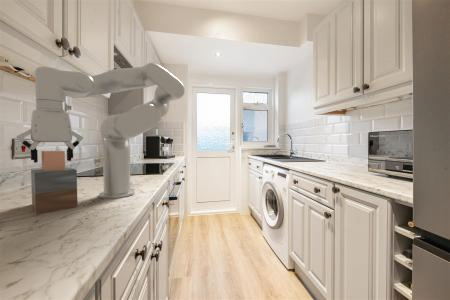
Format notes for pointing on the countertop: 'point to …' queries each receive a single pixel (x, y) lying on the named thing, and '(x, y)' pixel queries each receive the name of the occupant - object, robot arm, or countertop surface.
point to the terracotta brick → (53, 160)
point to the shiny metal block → (53, 189)
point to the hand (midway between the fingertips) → (53, 161)
